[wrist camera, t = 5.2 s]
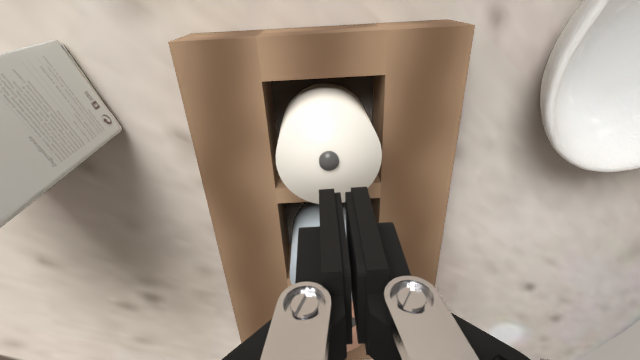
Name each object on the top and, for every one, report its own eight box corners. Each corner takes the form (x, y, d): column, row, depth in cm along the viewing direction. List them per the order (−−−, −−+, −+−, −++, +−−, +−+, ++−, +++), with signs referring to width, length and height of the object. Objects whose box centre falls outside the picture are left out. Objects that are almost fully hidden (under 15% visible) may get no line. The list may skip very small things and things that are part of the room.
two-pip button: (365, 193, 22) (379, 240, 18) (365, 252, 24) (376, 305, 20) (289, 198, 22) (285, 245, 18) (296, 256, 24) (293, 310, 20)
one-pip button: (368, 80, 18) (384, 106, 14) (366, 162, 21) (380, 204, 17) (277, 85, 18) (268, 112, 14) (286, 166, 21) (280, 209, 17)
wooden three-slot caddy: (447, 19, 19) (474, 25, 16) (412, 319, 30) (423, 355, 27) (191, 33, 19) (168, 41, 16) (253, 328, 30) (247, 365, 27)
